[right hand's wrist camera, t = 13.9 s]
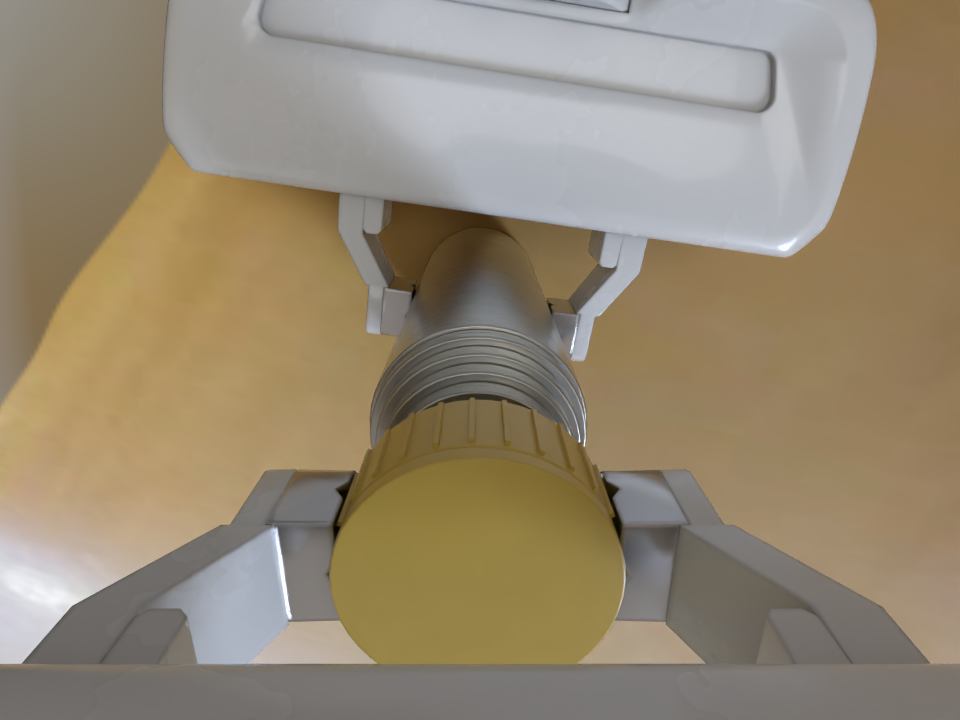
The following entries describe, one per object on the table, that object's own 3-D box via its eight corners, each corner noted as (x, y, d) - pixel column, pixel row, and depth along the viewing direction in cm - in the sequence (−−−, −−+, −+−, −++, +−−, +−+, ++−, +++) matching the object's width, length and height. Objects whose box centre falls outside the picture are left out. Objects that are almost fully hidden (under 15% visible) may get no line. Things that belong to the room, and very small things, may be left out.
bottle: (554, 260, 25) (704, 512, 8) (501, 352, 27) (536, 723, 10) (455, 206, 24) (399, 366, 8) (406, 305, 26) (269, 620, 9)
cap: (654, 463, 10) (691, 534, 8) (526, 639, 11) (534, 732, 9) (419, 349, 9) (403, 400, 7) (312, 552, 10) (280, 636, 9)
